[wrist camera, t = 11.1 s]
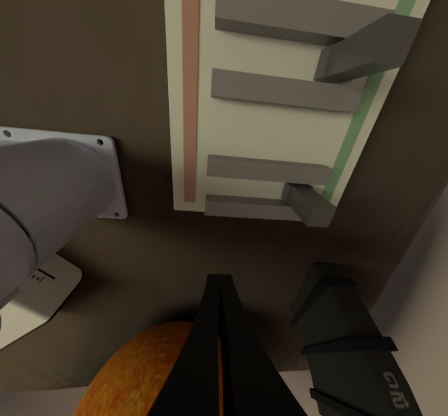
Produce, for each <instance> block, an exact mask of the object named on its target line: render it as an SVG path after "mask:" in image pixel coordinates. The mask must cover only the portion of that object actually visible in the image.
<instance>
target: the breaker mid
mask: <svg viewBox="0 0 448 416" xmlns="http://www.w3.org/2000/svg"><path fill="white" fill-rule="evenodd" d="M422 22H423V19H422V18H416V17H410V16H405V15H399V14H393V13H388V14H386V15H384V16H382V17H381V18H379V19H377V20H376V21H374V22H372V23H371V24H369V25H367V26H365V27H364V28H362V29H360V30H359V31H357V32H355V33H353V34H352V35H350V36H348V37H347V38H345V39H343V40H342V41H340V42H338V43H336V44H331V45H329V46H327V47H326V48H324V49H323V50H321V53H320V57H319V61H318V64H317V68H316V72H315V75H314V79H313V80H316V81H323V82H331V83H338V84H341V83H345V82H349V81H352V80H353V79H356V78H360V77H364V76H368V75H372V74H376V73H380V72H384V71H388V70H392V69H396V68H400V67H402V65H403V63H404V61H405V59H406V56H407V54H408V52H409V50H410V48H411V46H412V43H413V41H414V39H415V37H416V35H417V32H418V30H419V28H420V26H421V24H422Z"/></svg>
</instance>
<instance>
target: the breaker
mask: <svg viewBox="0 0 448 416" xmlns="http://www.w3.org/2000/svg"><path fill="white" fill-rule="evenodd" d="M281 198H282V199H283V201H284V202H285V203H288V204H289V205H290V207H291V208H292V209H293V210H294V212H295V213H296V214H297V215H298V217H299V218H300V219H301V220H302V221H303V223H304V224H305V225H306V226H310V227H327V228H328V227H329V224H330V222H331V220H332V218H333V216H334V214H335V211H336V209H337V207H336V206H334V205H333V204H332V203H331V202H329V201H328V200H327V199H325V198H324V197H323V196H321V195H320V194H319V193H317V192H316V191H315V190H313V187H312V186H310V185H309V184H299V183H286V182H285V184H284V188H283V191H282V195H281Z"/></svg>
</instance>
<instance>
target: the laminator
mask: <svg viewBox="0 0 448 416" xmlns="http://www.w3.org/2000/svg"><path fill="white" fill-rule="evenodd" d="M83 277H84V272H83V271H82V270H80V269H79V268H77V267H76V266H74V265H73V264H71V263H70V262H68V261H66V260H65V259H63V258H62V257H60V256H59V255H57V254H54V255H53V256H52V257H51V258H49V259H48V260H47V261H46V262H45V263H44V264H43V265H41V266H40V267H39V268H38V269H37V270H36V271H35V272H33V273H32V274H31V275H30V276H29V277H28V278H27V279H25V280H24V281H23V282H22V283H21V284H20V293H19V294H17V295H16V296H15V297H14V298H13V299H12V300H11V301H10V302H9V303H8V304H6V305H5V306H4V307H3V308H2V309H1V310H0V315H1V330H0V351H1V350H3V349H5V348H6V347H8V346H10V345H11V344H13V343H15V342H16V341H18V340H20V339H21V338H23V337H25V336H26V335H28V334H30V333H31V332H33V331H35V330H36V329H38V328H40V327H41V326H43V325H45V324H47V323H48V322H49V321H51V320H52V318H53V317H54V316H55V315H56V314H57V312H58V311H59V310H60V309H61V307H62V306H63V305H64V304H65V302H66V301H67V300H68V298H69V297H70V296H71V295H72V293H73V292H74V291H75V290H76V288H77V287H78V286H79V285H80V283H81V282H82V280H83Z"/></svg>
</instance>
